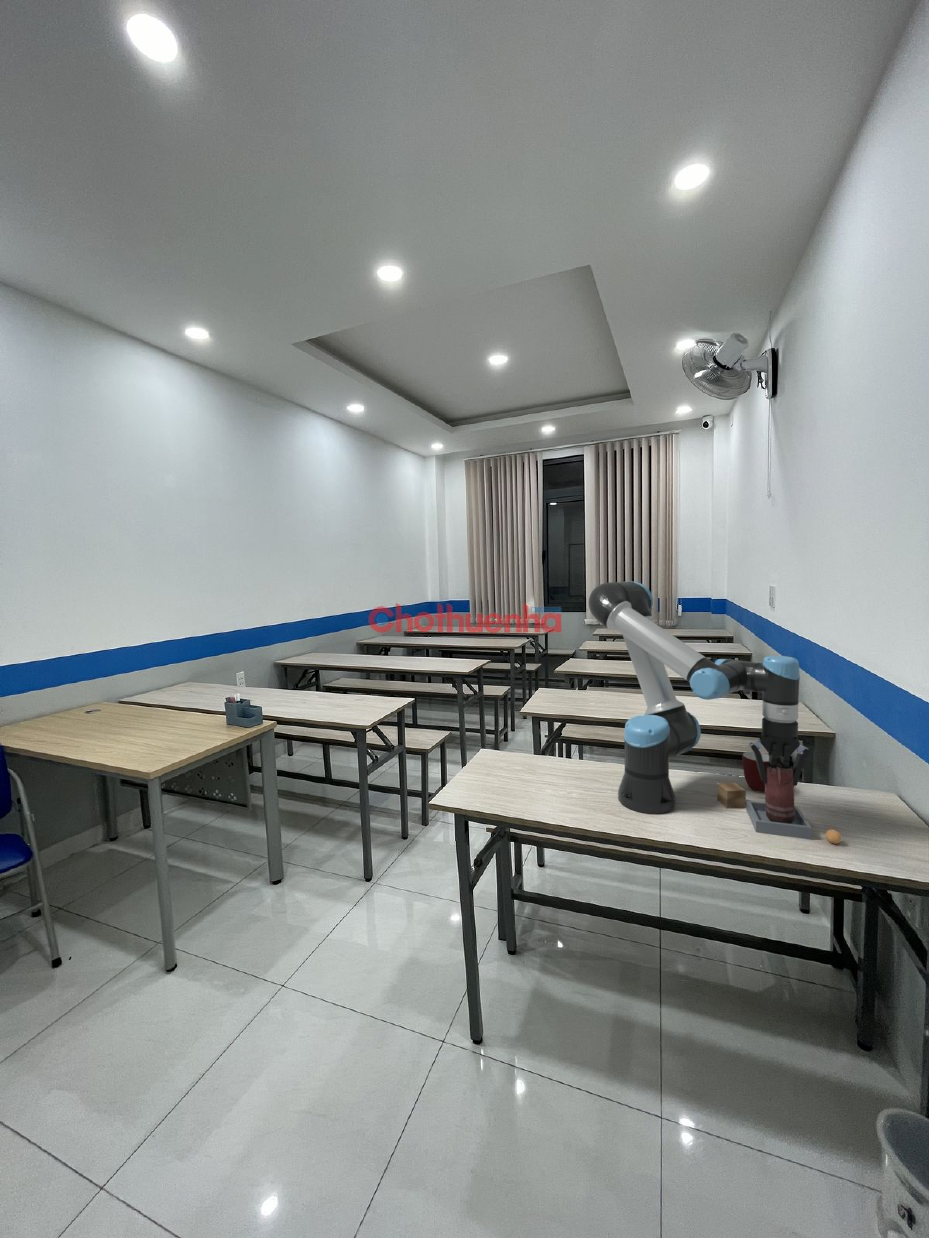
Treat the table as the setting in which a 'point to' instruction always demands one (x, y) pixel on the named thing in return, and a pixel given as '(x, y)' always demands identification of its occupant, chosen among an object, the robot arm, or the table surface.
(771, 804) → the can
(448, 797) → the table surface
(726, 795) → the walnut block
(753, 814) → the tray
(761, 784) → the mug
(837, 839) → the rubber ball
